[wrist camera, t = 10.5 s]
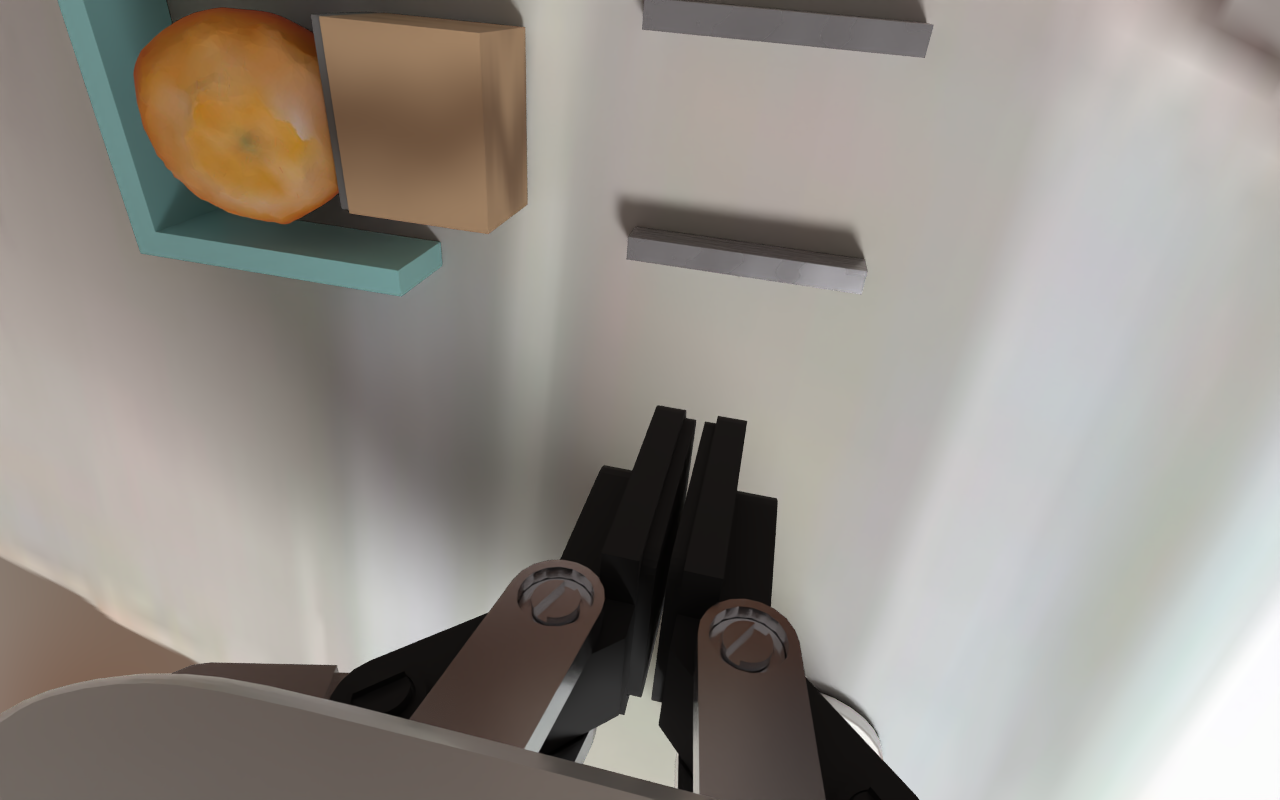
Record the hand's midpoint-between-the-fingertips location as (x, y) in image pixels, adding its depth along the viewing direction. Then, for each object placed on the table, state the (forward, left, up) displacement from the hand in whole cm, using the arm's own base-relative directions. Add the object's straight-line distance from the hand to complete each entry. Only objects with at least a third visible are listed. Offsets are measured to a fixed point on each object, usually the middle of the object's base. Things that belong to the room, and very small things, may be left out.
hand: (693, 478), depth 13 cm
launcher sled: (+2, +13, -19) cm, 23 cm away
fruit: (+2, +21, -19) cm, 28 cm away
